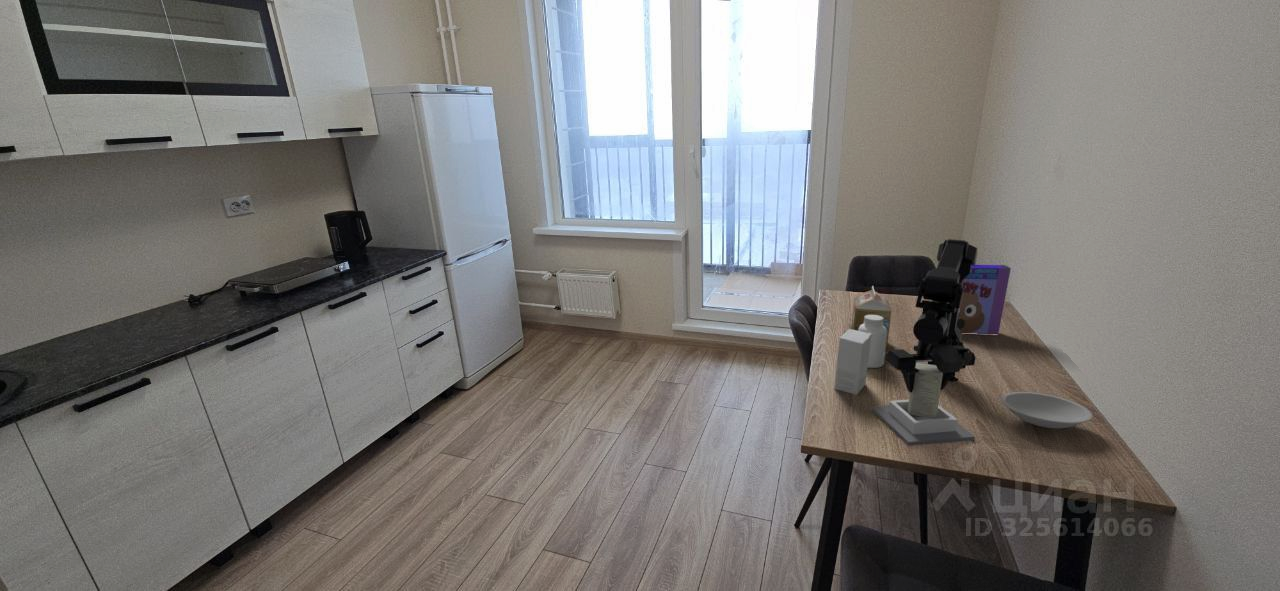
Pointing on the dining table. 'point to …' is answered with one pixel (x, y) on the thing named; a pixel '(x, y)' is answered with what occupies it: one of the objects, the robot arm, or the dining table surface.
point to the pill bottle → (875, 339)
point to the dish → (1046, 409)
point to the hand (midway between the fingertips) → (925, 390)
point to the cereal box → (983, 299)
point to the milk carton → (871, 310)
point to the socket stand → (921, 425)
